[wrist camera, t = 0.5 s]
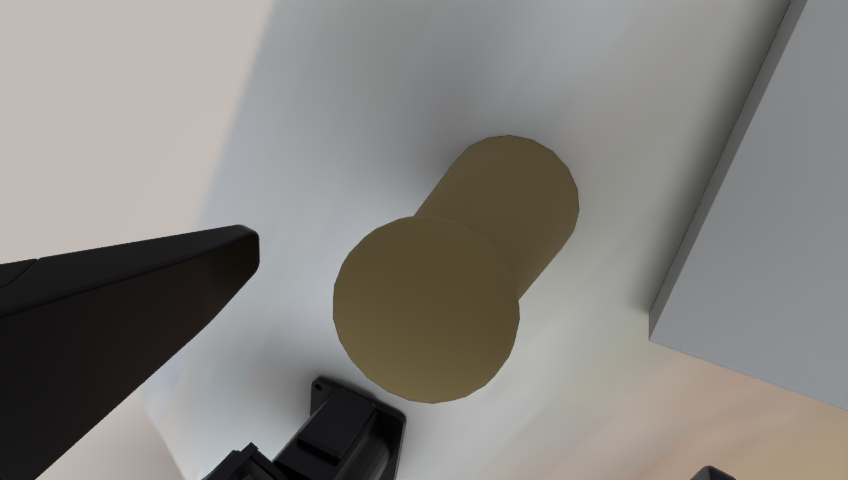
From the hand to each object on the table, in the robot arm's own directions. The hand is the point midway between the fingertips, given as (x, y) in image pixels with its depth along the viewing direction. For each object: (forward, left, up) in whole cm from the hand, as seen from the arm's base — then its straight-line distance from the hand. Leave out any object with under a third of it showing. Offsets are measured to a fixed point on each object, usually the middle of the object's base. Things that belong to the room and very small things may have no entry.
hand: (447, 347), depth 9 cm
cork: (-2, +2, -13) cm, 13 cm away
